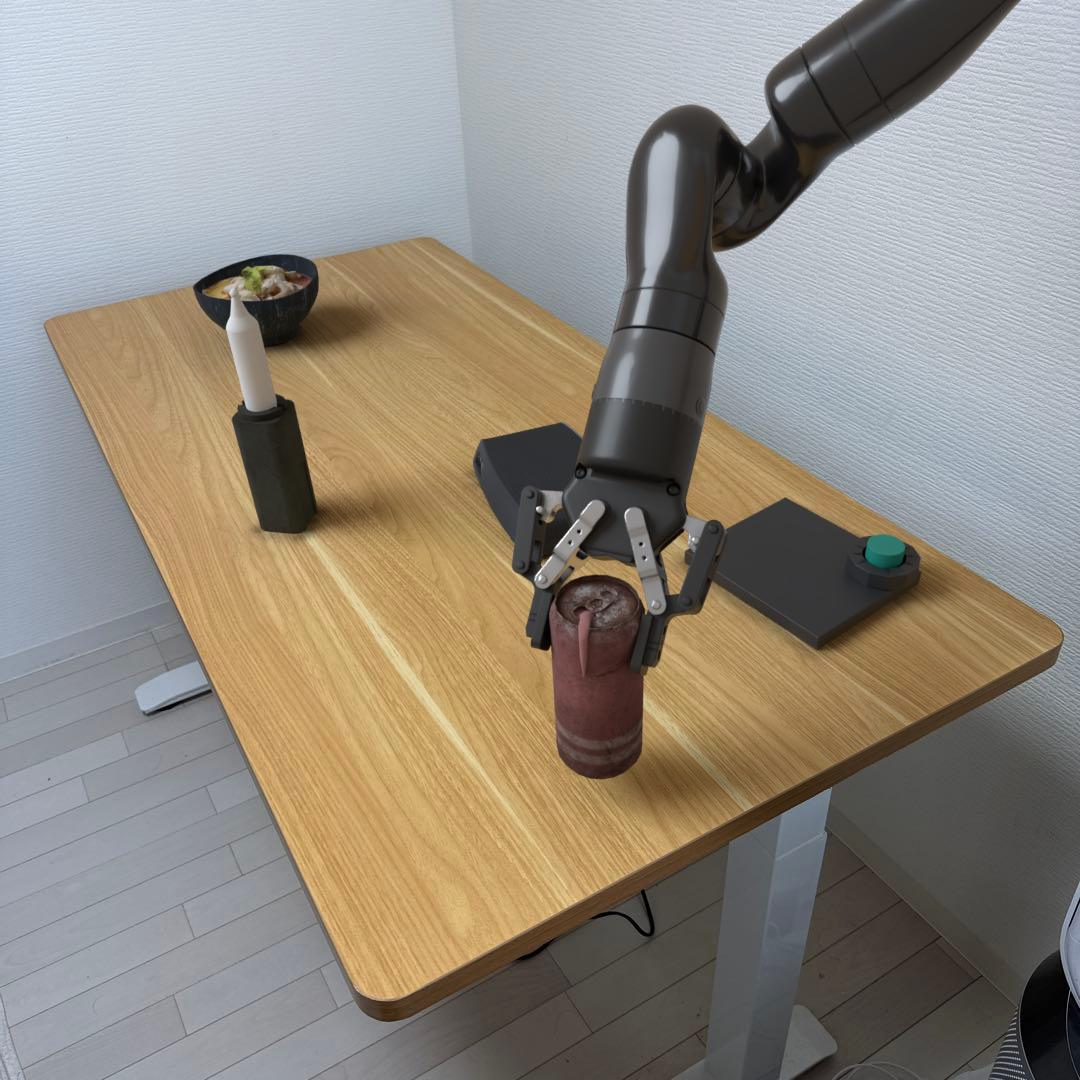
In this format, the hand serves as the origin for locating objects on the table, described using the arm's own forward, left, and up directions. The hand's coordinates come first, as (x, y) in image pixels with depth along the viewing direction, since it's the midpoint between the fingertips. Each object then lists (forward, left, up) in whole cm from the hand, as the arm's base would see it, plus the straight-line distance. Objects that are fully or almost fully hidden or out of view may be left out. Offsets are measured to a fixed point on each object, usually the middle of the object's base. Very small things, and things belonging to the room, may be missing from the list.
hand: (587, 660), depth 62 cm
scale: (+8, -31, -14) cm, 35 cm away
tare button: (+2, -36, -11) cm, 38 cm away
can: (+1, -1, -11) cm, 11 cm away
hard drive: (+33, -21, -14) cm, 42 cm away
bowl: (+94, -16, -14) cm, 96 cm away
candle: (+48, +2, -14) cm, 50 cm away
